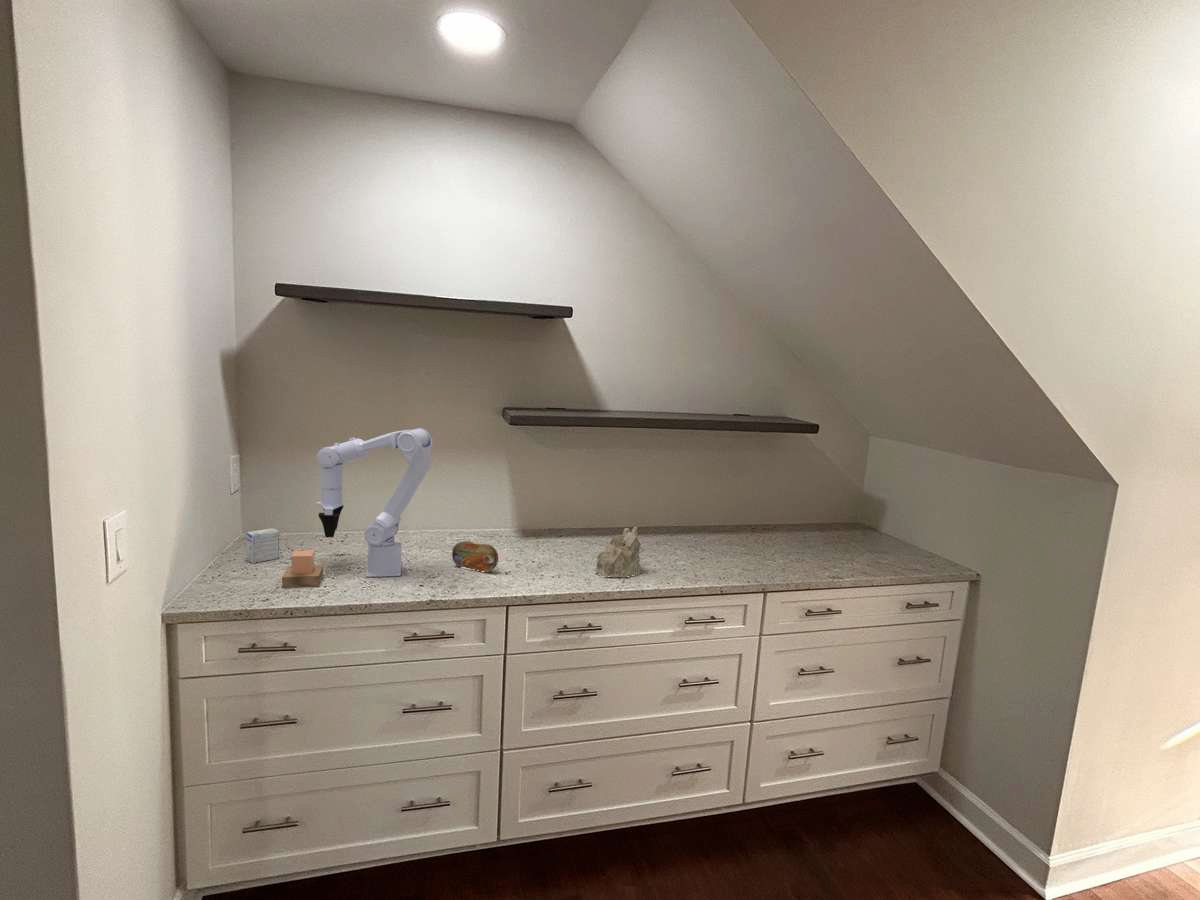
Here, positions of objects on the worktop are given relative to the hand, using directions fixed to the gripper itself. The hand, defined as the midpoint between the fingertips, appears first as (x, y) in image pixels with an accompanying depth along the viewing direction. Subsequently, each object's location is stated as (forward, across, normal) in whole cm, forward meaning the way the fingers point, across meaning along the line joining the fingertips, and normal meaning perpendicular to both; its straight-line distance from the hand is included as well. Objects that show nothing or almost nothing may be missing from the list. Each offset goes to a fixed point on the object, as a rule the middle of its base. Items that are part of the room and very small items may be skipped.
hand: (331, 533), depth 184 cm
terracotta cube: (+7, +11, -6) cm, 15 cm away
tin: (+10, +6, +41) cm, 43 cm away
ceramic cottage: (+10, +11, +85) cm, 86 cm away
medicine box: (+11, -10, -20) cm, 25 cm away
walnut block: (+10, +11, -6) cm, 16 cm away
